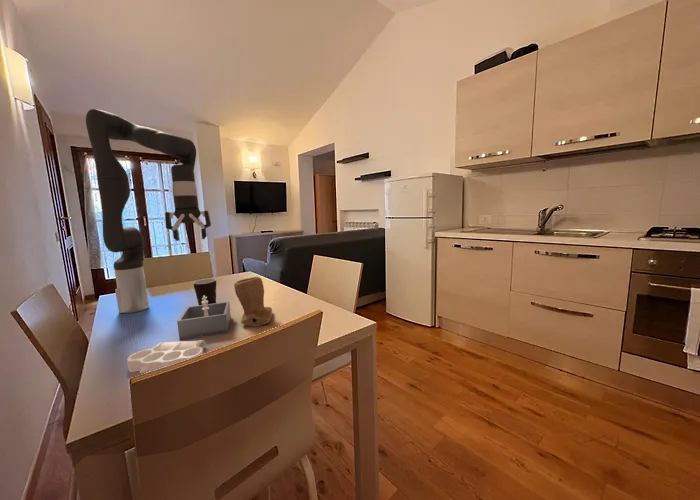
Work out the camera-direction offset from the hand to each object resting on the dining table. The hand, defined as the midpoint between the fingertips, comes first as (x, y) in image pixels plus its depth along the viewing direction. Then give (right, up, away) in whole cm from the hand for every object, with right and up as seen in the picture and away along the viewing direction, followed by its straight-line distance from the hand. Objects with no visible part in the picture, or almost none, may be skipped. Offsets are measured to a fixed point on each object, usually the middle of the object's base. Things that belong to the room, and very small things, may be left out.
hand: (190, 239), depth 107 cm
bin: (+11, -30, -10) cm, 33 cm away
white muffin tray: (+12, -33, -31) cm, 47 cm away
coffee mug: (0, -26, +15) cm, 30 cm away
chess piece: (+11, -29, -10) cm, 33 cm away
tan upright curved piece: (+25, -28, -5) cm, 38 cm away
